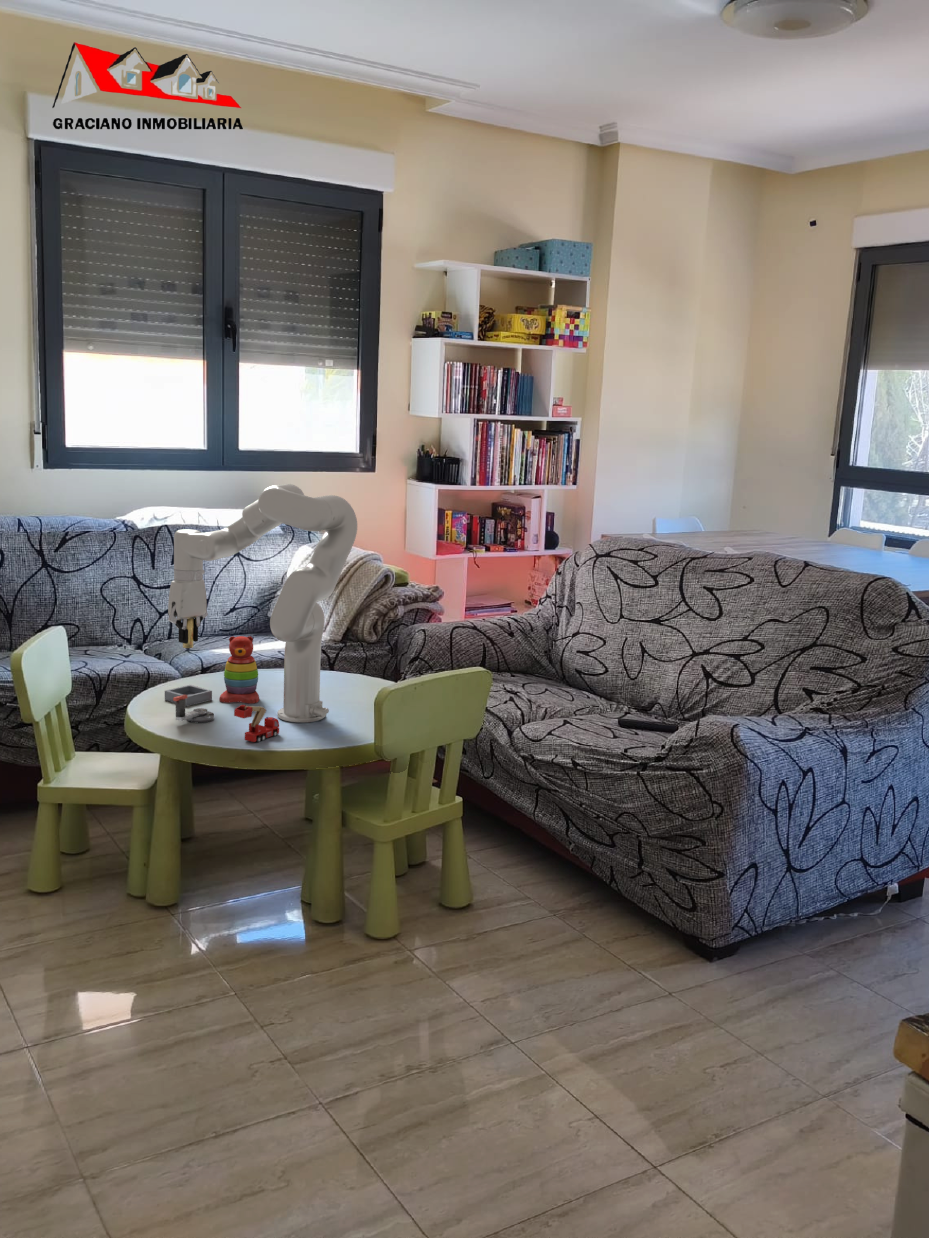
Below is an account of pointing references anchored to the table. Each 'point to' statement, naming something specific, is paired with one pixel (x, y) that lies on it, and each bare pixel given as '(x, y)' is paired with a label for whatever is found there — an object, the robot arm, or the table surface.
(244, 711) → the toy fire truck
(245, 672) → the stacking bear
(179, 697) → the crank
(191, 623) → the pin
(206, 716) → the hub
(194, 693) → the tray
